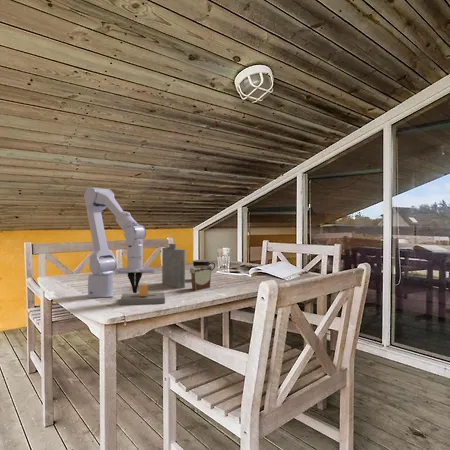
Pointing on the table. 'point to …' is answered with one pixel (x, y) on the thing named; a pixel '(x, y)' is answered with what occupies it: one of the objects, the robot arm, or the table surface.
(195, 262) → the coffee mug
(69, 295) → the table surface
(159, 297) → the panel
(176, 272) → the hip flask
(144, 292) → the knob
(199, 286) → the food container
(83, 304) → the table surface
